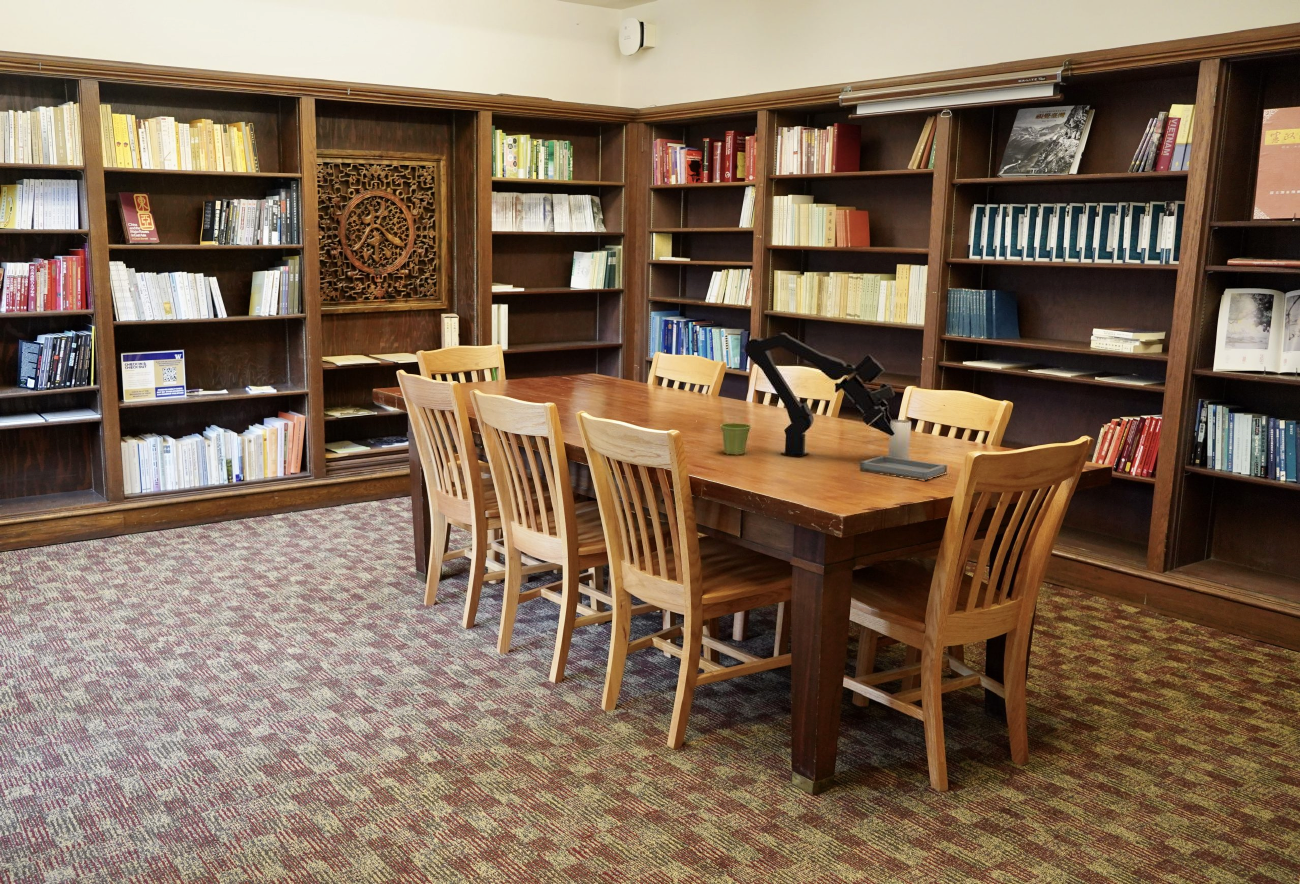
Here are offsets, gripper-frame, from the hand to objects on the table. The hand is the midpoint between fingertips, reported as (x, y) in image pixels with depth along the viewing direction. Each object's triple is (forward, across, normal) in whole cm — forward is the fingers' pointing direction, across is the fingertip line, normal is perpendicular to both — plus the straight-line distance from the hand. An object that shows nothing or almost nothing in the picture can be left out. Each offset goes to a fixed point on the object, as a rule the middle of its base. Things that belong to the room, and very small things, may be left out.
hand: (894, 432), depth 331 cm
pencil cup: (+8, 0, +5) cm, 9 cm away
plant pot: (-27, -6, +40) cm, 48 cm away
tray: (+9, -14, +4) cm, 17 cm away
